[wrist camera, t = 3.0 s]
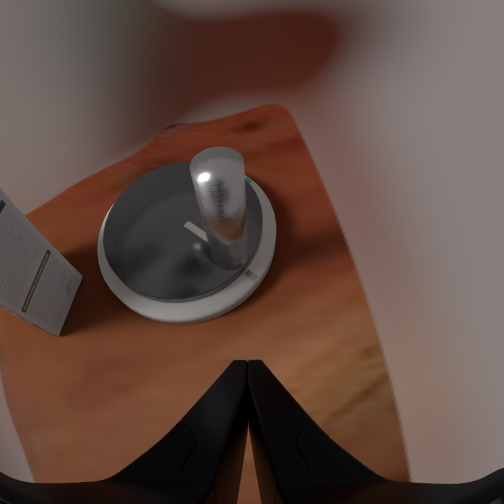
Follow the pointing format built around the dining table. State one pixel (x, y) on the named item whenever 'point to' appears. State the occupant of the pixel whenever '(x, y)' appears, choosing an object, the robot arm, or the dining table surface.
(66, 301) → the syrup box
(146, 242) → the dial
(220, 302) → the base
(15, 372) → the dining table surface
